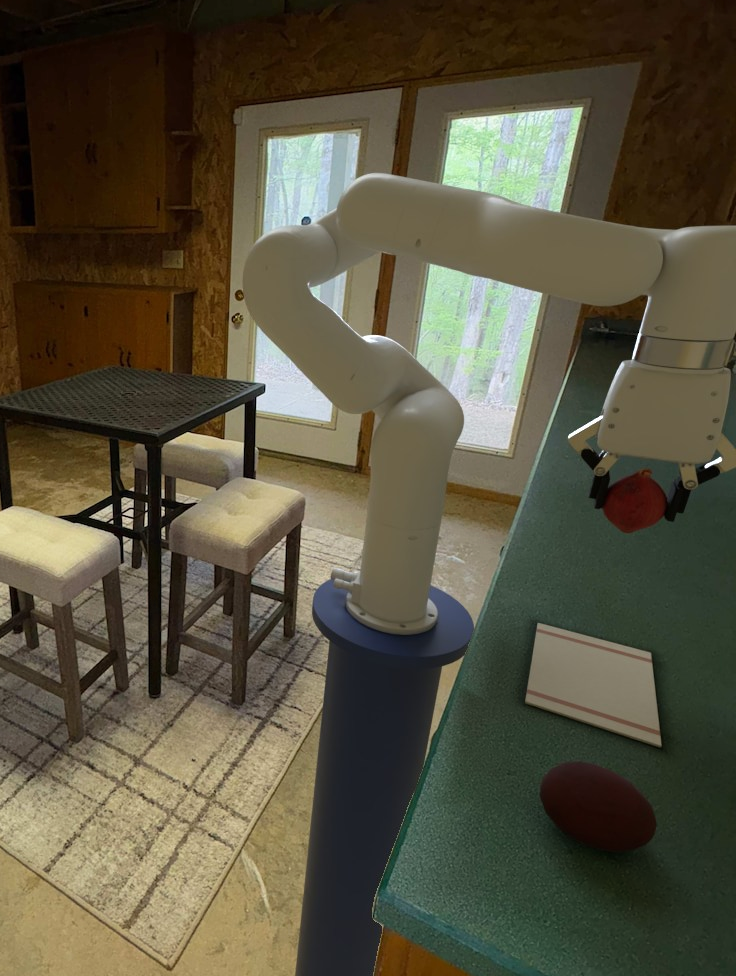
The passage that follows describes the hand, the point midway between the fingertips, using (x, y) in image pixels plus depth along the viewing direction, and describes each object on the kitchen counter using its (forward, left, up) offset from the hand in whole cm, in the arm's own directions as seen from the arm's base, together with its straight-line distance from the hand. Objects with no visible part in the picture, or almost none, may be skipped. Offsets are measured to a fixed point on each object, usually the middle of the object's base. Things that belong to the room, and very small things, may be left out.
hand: (632, 509), depth 71 cm
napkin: (0, -7, -19) cm, 20 cm away
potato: (0, -31, -20) cm, 36 cm away
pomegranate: (0, 0, -3) cm, 3 cm away
